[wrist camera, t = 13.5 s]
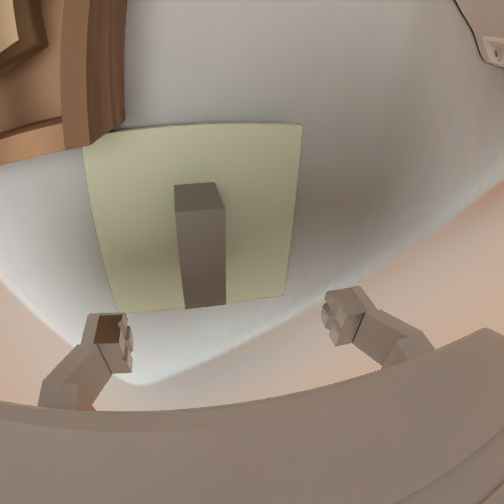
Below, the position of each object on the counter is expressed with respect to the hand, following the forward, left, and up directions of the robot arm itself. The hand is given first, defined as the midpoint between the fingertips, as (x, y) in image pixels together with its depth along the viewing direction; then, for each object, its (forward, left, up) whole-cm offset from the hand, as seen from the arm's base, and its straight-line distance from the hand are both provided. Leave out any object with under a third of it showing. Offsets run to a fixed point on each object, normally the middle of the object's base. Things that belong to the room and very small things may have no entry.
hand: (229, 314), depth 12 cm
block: (+12, -13, -9) cm, 20 cm away
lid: (+1, +1, -9) cm, 9 cm away
